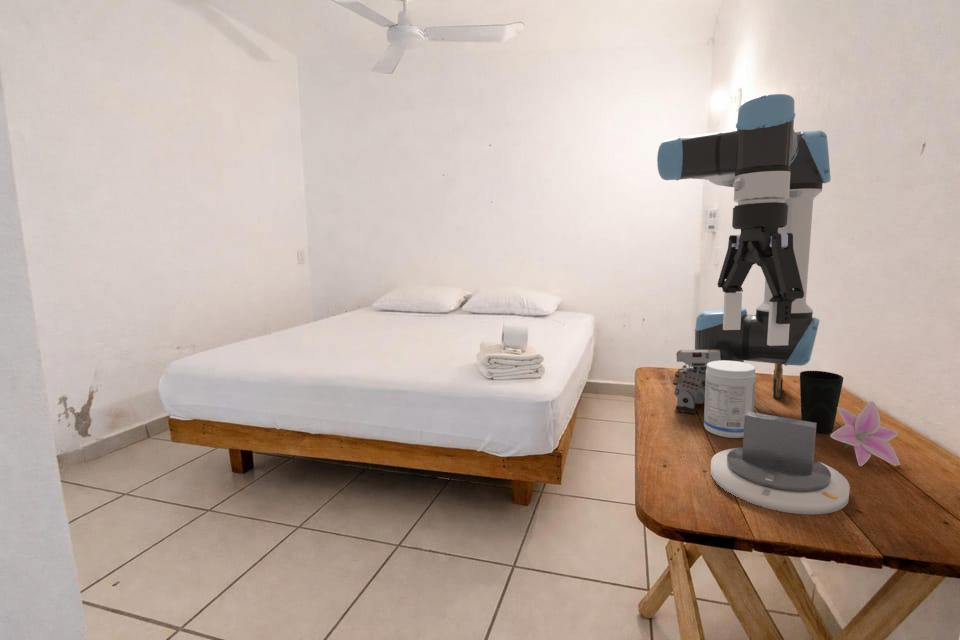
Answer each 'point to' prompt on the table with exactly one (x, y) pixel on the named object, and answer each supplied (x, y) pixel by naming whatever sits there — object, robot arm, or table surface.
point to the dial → (779, 454)
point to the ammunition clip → (778, 381)
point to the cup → (820, 398)
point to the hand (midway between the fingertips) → (752, 336)
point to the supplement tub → (728, 397)
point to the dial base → (782, 491)
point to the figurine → (692, 377)
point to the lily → (866, 435)
